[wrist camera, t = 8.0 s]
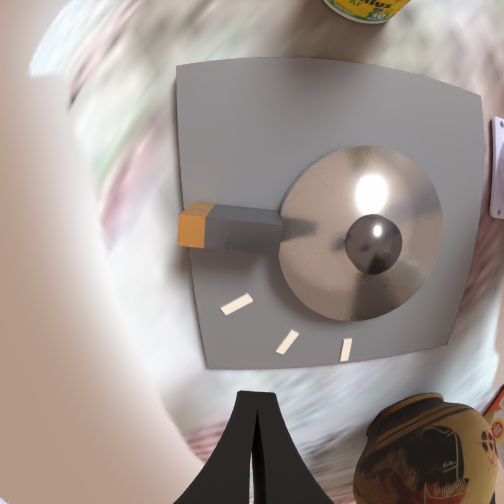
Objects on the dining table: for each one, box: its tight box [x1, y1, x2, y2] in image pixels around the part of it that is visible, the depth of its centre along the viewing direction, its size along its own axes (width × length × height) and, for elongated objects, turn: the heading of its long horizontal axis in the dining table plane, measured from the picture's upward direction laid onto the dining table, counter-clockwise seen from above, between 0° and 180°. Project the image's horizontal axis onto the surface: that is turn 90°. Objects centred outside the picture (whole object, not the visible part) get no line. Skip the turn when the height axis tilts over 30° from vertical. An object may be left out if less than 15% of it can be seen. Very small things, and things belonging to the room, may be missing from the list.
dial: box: [178, 146, 443, 321], centre depth 14 cm, size 15×10×3 cm
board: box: [176, 57, 484, 369], centre depth 16 cm, size 20×20×1 cm
